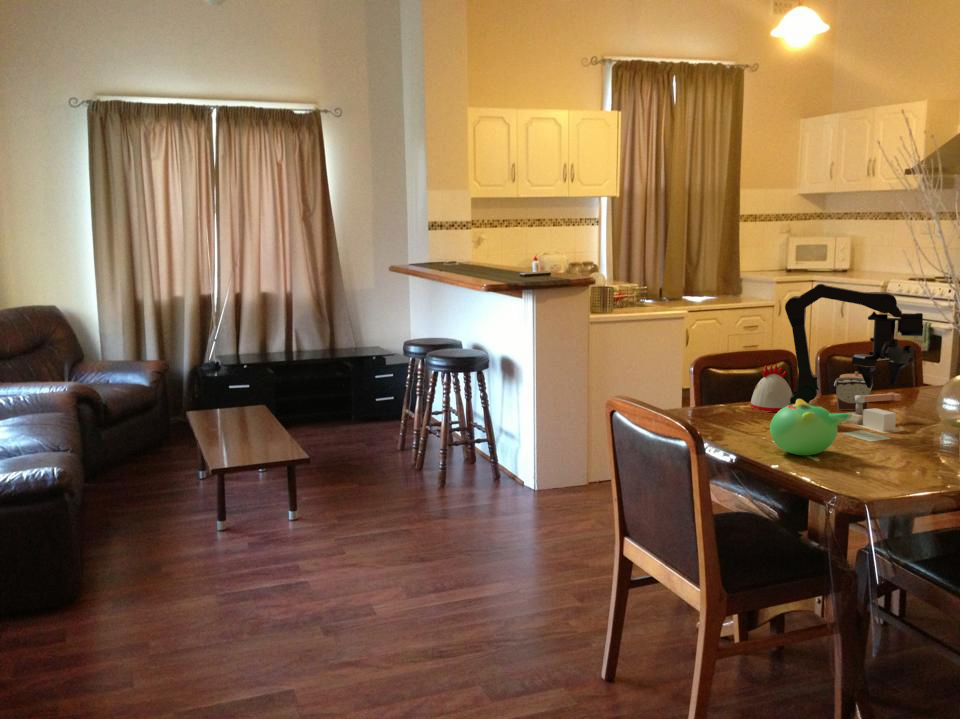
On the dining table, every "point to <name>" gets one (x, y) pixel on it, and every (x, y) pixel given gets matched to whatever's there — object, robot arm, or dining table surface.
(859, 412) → the housing
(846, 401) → the food container
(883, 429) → the block
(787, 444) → the toy bird
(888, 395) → the latch bar
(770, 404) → the kitchen timer
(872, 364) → the robot arm
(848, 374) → the lidded jar
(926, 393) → the dining table surface
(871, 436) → the mat
